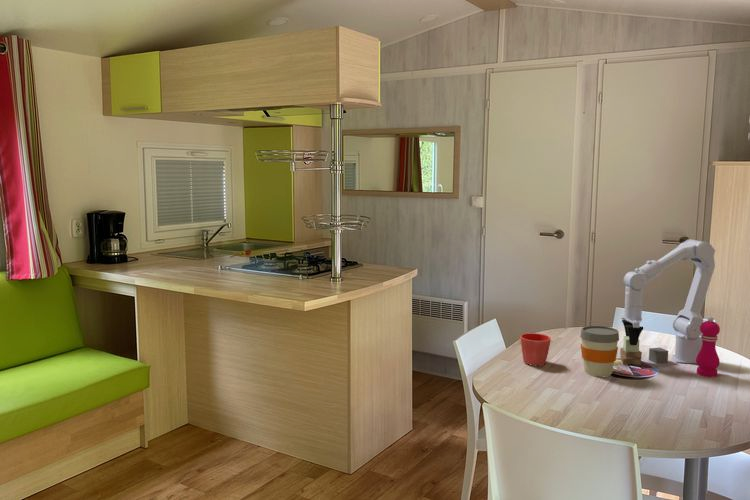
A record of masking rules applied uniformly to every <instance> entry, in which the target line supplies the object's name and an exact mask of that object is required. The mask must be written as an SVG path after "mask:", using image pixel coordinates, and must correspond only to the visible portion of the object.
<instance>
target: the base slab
mask: <svg viewBox="0 0 750 500" xmlns="http://www.w3.org/2000/svg"><path fill="white" fill-rule="evenodd" d="M619 358H620V359H621V360H620V362H621V361H622V362H621V364H622V363H623V364H622V365H625V364H634V365H633V366H641V364H642V358H641V359H625V358H624V357H623V356H621V355H620V357H619Z"/></svg>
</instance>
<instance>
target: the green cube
mask: <svg viewBox="0 0 750 500" xmlns="http://www.w3.org/2000/svg"><path fill="white" fill-rule="evenodd" d="M622 342H623V347H622V348H623V349H624V350H625V352H639V351H640V339H638V342H637V345H630V342H629V336H626V335H624V336H623V341H622Z"/></svg>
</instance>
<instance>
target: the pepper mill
mask: <svg viewBox="0 0 750 500" xmlns="http://www.w3.org/2000/svg"><path fill="white" fill-rule="evenodd" d="M700 331H701V333H702V334H701V335H700V337H701V339H702V347H701V350H700V351H699V353H698V355H697V357H696V363H697V364H696V363H695V364H696V365H697V366H698V367H696V374H697V375H699V376H701V377H706V378H716V377H718V370H717V369H718V368H719V366H720V365H721V363H720V362H721V361H720V360H721V359H720V356H719V355H718V353H717V350H716V349H717V347H716V343H717V341H718V338H719V337H718V335H719V334H720V331H721V327H720V325H719V324H718V323H717V322H715V321H714V317H712V316H709V317H707V320H705V321H703V323H702V324H701V326H700Z"/></svg>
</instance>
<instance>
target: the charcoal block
mask: <svg viewBox="0 0 750 500" xmlns="http://www.w3.org/2000/svg"><path fill="white" fill-rule="evenodd" d="M648 349H649V350H648V361H650V362H651V363H654V364H658V365H659V364H660V365H661V364H667V363H669V362H668V360H669V350H667V349H665V348H662V347H651V348H648Z"/></svg>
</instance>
